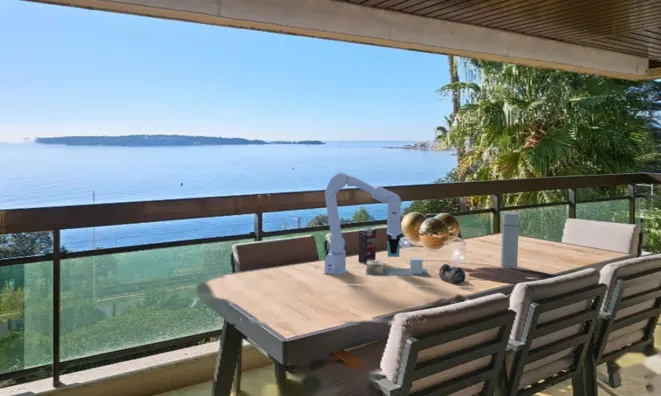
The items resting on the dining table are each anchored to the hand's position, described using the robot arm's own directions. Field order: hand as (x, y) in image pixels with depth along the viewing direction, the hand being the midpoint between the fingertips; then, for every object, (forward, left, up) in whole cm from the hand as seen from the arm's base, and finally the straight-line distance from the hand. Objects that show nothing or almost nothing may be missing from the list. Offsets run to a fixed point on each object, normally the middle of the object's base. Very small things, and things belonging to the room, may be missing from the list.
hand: (393, 252), depth 222 cm
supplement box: (+11, +21, -10) cm, 25 cm away
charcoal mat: (+1, -1, -9) cm, 9 cm away
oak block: (-4, +7, -9) cm, 12 cm away
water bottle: (+44, -36, -10) cm, 58 cm away
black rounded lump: (+1, -27, -10) cm, 28 cm away
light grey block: (+6, -8, -9) cm, 13 cm away
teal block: (0, 0, -2) cm, 2 cm away
